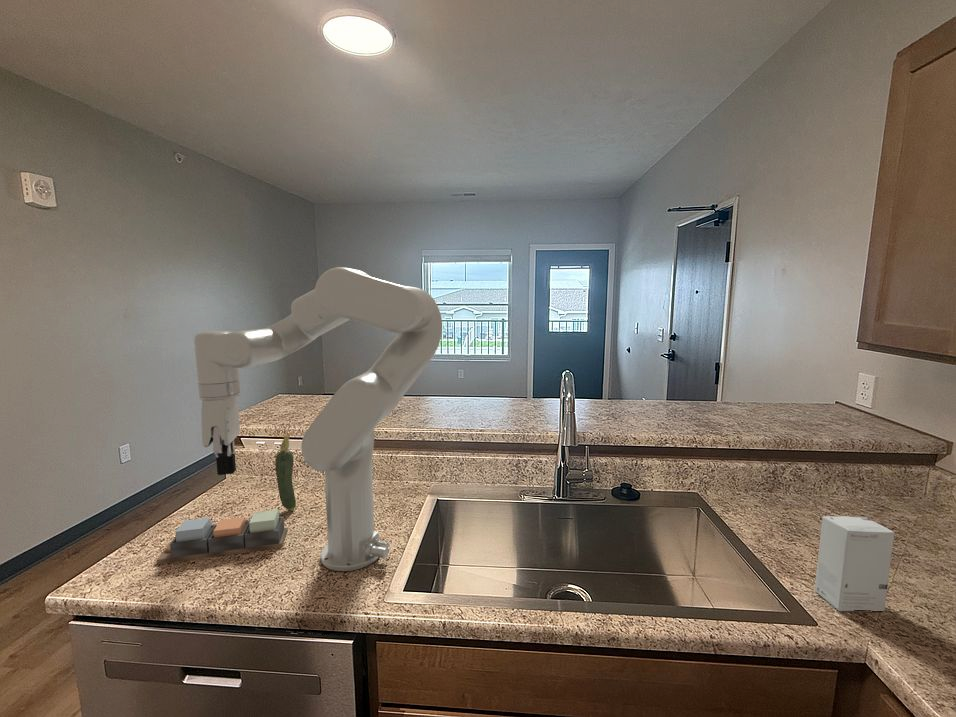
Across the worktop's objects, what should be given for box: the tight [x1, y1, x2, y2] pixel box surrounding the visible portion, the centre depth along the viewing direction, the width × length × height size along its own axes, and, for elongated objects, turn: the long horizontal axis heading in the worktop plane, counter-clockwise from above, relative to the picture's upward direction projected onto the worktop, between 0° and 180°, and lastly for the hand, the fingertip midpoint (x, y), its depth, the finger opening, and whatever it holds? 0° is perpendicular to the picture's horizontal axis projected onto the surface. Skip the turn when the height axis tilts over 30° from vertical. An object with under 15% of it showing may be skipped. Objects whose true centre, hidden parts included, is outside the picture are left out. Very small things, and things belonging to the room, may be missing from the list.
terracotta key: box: [213, 516, 247, 538], centre depth 95 cm, size 5×5×4 cm
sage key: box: [249, 509, 280, 533], centre depth 97 cm, size 5×5×4 cm
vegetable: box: [274, 434, 297, 511], centre depth 111 cm, size 4×4×20 cm
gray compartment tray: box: [155, 515, 289, 565], centre depth 95 cm, size 24×7×4 cm, turn 105°
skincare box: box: [814, 515, 895, 612], centre depth 77 cm, size 8×6×15 cm
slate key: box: [174, 516, 212, 542], centre depth 94 cm, size 5×5×4 cm
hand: (227, 472), depth 94 cm, fingers closed
